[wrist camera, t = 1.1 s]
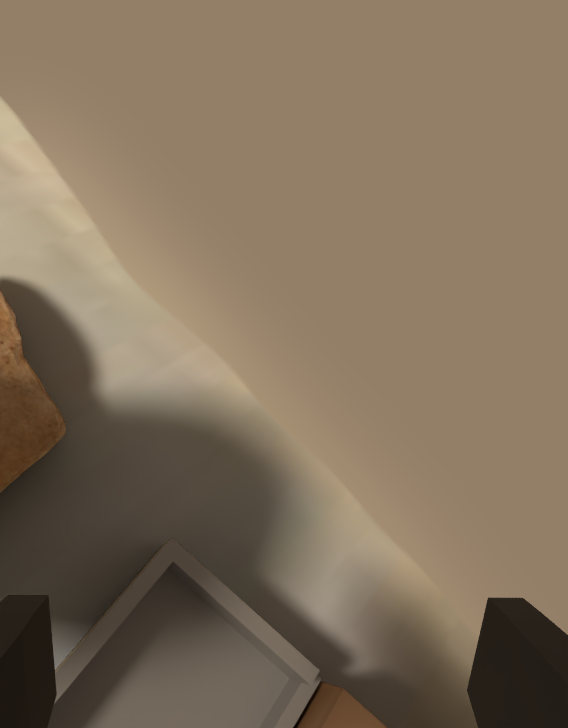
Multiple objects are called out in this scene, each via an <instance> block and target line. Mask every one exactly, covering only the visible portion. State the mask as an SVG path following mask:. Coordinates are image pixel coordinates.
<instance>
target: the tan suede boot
mask: <svg viewBox="0 0 568 728" xmlns="http://www.w3.org/2000/svg"><path fill="white" fill-rule="evenodd" d="M65 433H66V426H65V422H64V420H63V418H62V416H61V414H60V412H59V410H58V408H57V406H56V405H55V404H54V402H53V401H52V399H51V398H50V397H49V395H48V394H47V393H46V391H45V389H44V387H43V385H42V383H41V381H40V379H39V378H38V376H37V375H36V374H35V372H34V371H33V370H32V368H31V367H30V365H29V364H28V362H27V360H26V359H25V357H24V356H23V349H22V339H21V335H20V332H19V329H18V327H17V323H16V316H15V313H14V311H13V310H12V308H11V307H10V305H9V304H8V302H7V301H6V299H5V298H4V296H3V295H2V293H1V291H0V493H1V492H2V491H3V490H4V489H5V488H6V487H7V486H8V485H10V484H11V483H12V482H13V481H14V480H15V479H16V478H17V477H19V476H20V475H21V474H22V473H23V472H24V471H25V470H27V469H28V468H29V467H30V466H32V465H33V464H34V463H35V462H37V461H38V460H39V459H40V458H42V457H43V456H44V455H45V454H46V453H47V452H48V451H49V450H50V449H52V448H53V447H54V446H55V445H56V443H57V442H58V441H59V440H60V439H61V438H62V437H63V436H64V435H65Z"/></svg>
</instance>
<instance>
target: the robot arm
mask: <svg viewBox="0 0 568 728" xmlns="http://www.w3.org/2000/svg"><path fill="white" fill-rule="evenodd" d="M467 692H468V695H469V698H470V702H471V705H472V708H473V712H474V715H475V718H476V722H477V725H478V728H568V635H567V634H566V633H565V632H563V631H562V630H561V629H560V628H558V627H557V626H556V625H555V624H554V623H553V622H552V621H550V620H549V619H548V618H547V617H546V616H544V615H543V614H542V613H541V612H540V611H538V610H537V609H536V608H534V607H533V606H532V605H531V604H530V603H528V602H527V601H526V600H525V599H523V598H488V600H487V605H486V609H485V613H484V618H483V622H482V627H481V631H480V635H479V640H478V644H477V649H476V653H475V657H474V662H473V666H472V671H471V675H470V679H469V684H468V688H467ZM56 695H57V691H56V679H55V668H54V656H53V644H52V633H51V621H50V610H49V598H48V595H8V596H7V597H6V598H4V599H3V600H2V601H1V602H0V728H47V727H48V724H49V720H50V717H51V713H52V709H53V706H54V702H55V699H56Z"/></svg>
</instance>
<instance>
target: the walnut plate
mask: <svg viewBox="0 0 568 728" xmlns="http://www.w3.org/2000/svg"><path fill="white" fill-rule="evenodd" d="M293 728H387V727H386V726H385V725H384V724H382V723H381V722H380V721H379V720H378V719H377V718H376V717H375V716H374V715H372V714H371V713H370V712H369V711H368V710H367V709H366V708H365V707H364V706H362V705H361V704H360V703H359V702H358V701H357V700H356V699H355V698H354V697H352V696H351V695H350V694H349V693H348V692H347V691H346V690H345V689H343V688H340V687H337V686H334V685H330V684H327V683H324V682H321V681H320V682H319V684H318V686H317V688H316V689H315V691H314V693H313V694H312V696H311V698H310V700H309V701H308V703H307V705H306V707H305V708H304V710H303V712H302V713H301V715H300V717H299V719H298V720H297V722H296V724H295V725H294V727H293Z"/></svg>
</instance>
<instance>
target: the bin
mask: <svg viewBox="0 0 568 728" xmlns="http://www.w3.org/2000/svg"><path fill="white" fill-rule="evenodd" d="M319 671H320V670H319V669H318V668H317V667H315V666H314V665H313V664H312V663H311V662H310V661H309V660H308V659H307V658H305V657H304V656H303V655H302V654H301V653H300V652H299V651H298V650H297V649H295V648H294V647H293V646H292V645H291V644H290V643H289V642H288V641H287V640H286V639H284V638H283V637H282V636H281V635H280V634H279V633H278V632H277V631H276V630H274V629H273V628H272V627H271V626H270V625H269V624H268V623H267V622H266V621H264V620H263V619H262V618H261V617H260V616H259V615H258V614H257V613H256V612H254V611H253V610H252V609H251V608H250V607H249V606H248V605H247V604H246V603H244V602H243V601H242V600H241V599H240V598H239V597H238V596H237V595H236V594H234V593H233V592H232V591H231V590H230V589H229V588H228V587H227V586H226V585H224V584H223V583H222V582H221V581H220V580H219V579H218V578H217V577H216V576H214V575H213V574H212V573H211V572H210V571H209V570H208V569H207V568H206V567H204V566H203V565H202V564H201V563H200V562H199V561H198V560H197V559H196V558H194V557H193V556H192V555H191V554H190V553H189V552H188V551H187V550H186V549H184V548H183V547H182V546H181V545H180V544H179V543H178V542H177V541H176V540H174V539H173V538H171V539H170V540H168V541H167V542H166V543H165V544H164V545H163V546H162V547H161V548H160V549H159V550H158V551H157V552H156V554H155V555H154V556H153V557H152V558H151V559H150V561H149V562H148V563H147V564H146V565H145V566H144V568H143V569H142V570H141V571H140V572H139V573H138V575H137V576H136V577H135V578H134V579H133V580H132V582H131V583H130V584H129V585H128V586H127V587H126V589H125V590H124V591H123V592H122V593H121V594H120V596H119V597H118V598H117V599H116V600H115V601H114V603H113V604H112V605H111V606H110V607H109V608H108V609H107V611H106V612H105V613H104V614H103V615H102V616H101V618H100V619H99V620H98V621H97V622H96V623H95V625H94V626H93V627H92V628H91V629H90V630H89V632H88V633H87V634H86V635H85V636H84V637H83V639H82V640H81V641H80V642H79V643H78V644H77V646H76V647H75V648H74V649H73V650H72V651H71V653H70V654H69V655H68V656H67V657H66V658H65V660H64V661H63V662H62V663H61V664H60V665H59V667H58V668H57V669H56V670H55V679H56V691H57V695H56V699H55V702H54V706H53V709H52V713H51V717H50V720H49V724H48V727H47V728H293V727H294V725H295V724H296V722H297V720H298V719H299V717H300V715H301V713H302V712H303V710H304V708H305V707H306V705H307V703H308V701H309V700H310V698H311V696H312V694H313V693H314V691H315V689H316V688H317V686H318V684H319V682H320V681H321V679H322V678H321V677H320V676H319V675H318V673H319Z"/></svg>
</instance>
